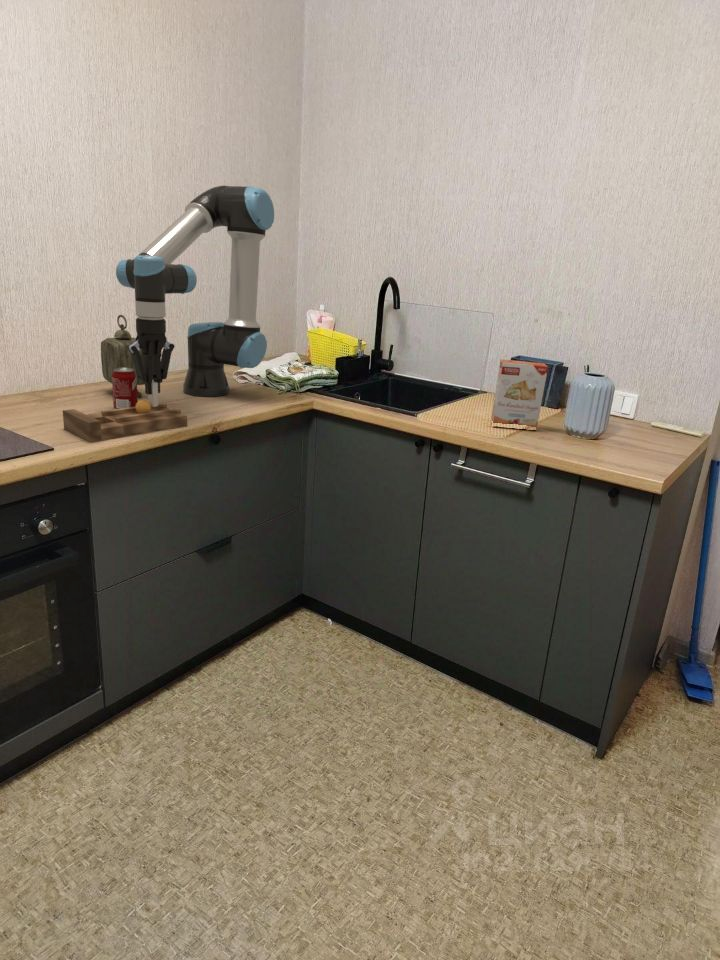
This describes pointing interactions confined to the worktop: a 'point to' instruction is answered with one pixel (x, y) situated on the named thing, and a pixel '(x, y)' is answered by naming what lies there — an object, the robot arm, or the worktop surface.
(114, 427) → the board
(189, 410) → the worktop surface
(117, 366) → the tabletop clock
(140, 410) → the ball
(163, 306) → the robot arm
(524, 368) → the cracker box
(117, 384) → the soda can
